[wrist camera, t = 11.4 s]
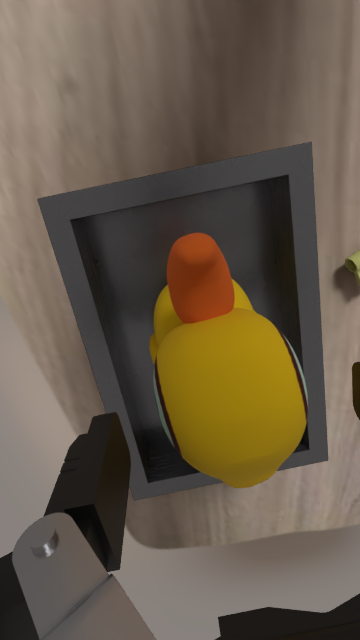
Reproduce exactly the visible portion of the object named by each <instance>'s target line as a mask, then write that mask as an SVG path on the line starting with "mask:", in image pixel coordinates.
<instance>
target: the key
mask: <svg viewBox="0 0 360 640" xmlns="http://www.w3.org/2000/svg"><path fill="white" fill-rule="evenodd" d="M345 264H346V266H347V268H348V269H349V270H350V271H351V272H353V273H354V274H355V277H356V279H357V282H358V284H359V287H360V250H359V251H357V252H356V253H354V254H353V255H351V256H349V257H348V258H346V259H345Z"/></svg>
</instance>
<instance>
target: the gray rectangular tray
mask: <svg viewBox="0 0 360 640" xmlns="http://www.w3.org/2000/svg"><path fill="white" fill-rule="evenodd" d="M37 200H38V203H39V206H40V209H41V213H42V216H43V219H44V222H45V225H46V228H47V231H48V234H49V237H50V240H51V244H52V247H53V250H54V253H55V256H56V259H57V262H58V265H59V268H60V271H61V275H62V278H63V281H64V284H65V287H66V290H67V293H68V296H69V299H70V303H71V306H72V309H73V312H74V315H75V318H76V321H77V324H78V327H79V330H80V334H81V337H82V340H83V343H84V346H85V349H86V352H87V355H88V358H89V361H90V365H91V368H92V371H93V374H94V377H95V380H96V383H97V386H98V389H99V393H100V396H101V399H102V402H103V405H104V408H105V411H106V414H108V413H112V412H116V413H117V414H118V416H119V419H120V422H121V425H122V428H123V431H124V435H125V438H126V441H127V444H128V447H129V451H130V457H131V471H130V481H129V486H130V489H131V492H132V495H133V498H134V501H135V500H139V499H144V498H149V497H154V496H159V495H164V494H168V493H173V492H178V491H183V490H188V489H193V488H197V487H202V486H207V485H212V484H217V483H222V482H223V481H222V480H220V479H217V478H214V477H212V476H209V475H207V474H204V473H202V472H200V471H199V470H197V469H195V468H194V467H193V466H191V465H190V464H189V463H188V462H187V461H185V460H184V459H183V458H182V456H181V455H180V454H179V453H178V452H177V450H176V449H175V448H174V446H173V445H172V443H171V441H170V440H169V438H168V436H167V434H166V432H165V430H164V427H163V425H162V422H161V419H160V416H159V413H158V409H157V405H156V400H155V394H154V382H153V375H154V363H153V361H152V358H151V354H150V348H149V341H150V337H151V336H152V334H154V333H155V331H154V310H155V305H156V302H157V299H158V297H159V295H160V293H161V291H162V290H163V289H164V288H165V287H166V286H167V285H168V282H167V264H168V258H169V254H170V252H171V248H172V246H173V244H174V243H175V242H176V241H177V240H178V239H179V238H181V237H183V236H185V235H188V234H192V233H204V234H207V235H209V236H210V237H212V238H213V240H214V241H215V242H216V244H217V245H218V247H219V249H220V250H221V252H222V254H223V256H224V258H225V260H226V262H227V265H228V268H229V271H230V275H231V278H232V279H233V280H234V281H235V282H236V283H237V284H238V285H239V286H240V287H241V288H242V289H243V291H244V292H245V294H246V295H247V297H248V299H249V301H250V303H251V305H252V308H253V310H254V311H255V312H256V313H258V314H260V315H262V316H263V317H265V318H266V319H268V320H269V321H270V322H272V323H273V324H274V325H275V326H276V327H277V328H278V329H279V330H280V331H281V332H282V334H283V335H284V336H285V338H286V339H287V340H288V342H289V343H290V345H291V347H292V348H293V350H294V352H295V354H296V356H297V358H298V361H299V363H300V366H301V369H302V372H303V375H304V379H305V383H306V388H307V395H308V416H307V422H306V427H305V430H304V433H303V436H302V438H301V441H300V442H299V444H298V446H297V447H296V449H295V450H294V452H293V453H292V454H291V455H290V456H289V457H288V458H287V459H286V460H285V461H284V462H283V463H282V464H281V466H280V467H279V468H278V470H277V471H280V470H285V469H289V468H294V467H299V466H304V465H309V464H314V463H318V462H323V461H328V445H327V425H326V406H325V387H324V368H323V349H322V330H321V311H320V292H319V273H318V253H317V234H316V215H315V196H314V177H313V158H312V142H308V143H303V144H298V145H293V146H289V147H284V148H279V149H274V150H269V151H265V152H260V153H255V154H250V155H245V156H241V157H236V158H231V159H226V160H221V161H216V162H212V163H207V164H202V165H197V166H192V167H188V168H183V169H178V170H173V171H168V172H164V173H159V174H154V175H149V176H144V177H140V178H135V179H130V180H125V181H120V182H115V183H111V184H106V185H101V186H96V187H91V188H87V189H82V190H77V191H72V192H67V193H63V194H58V195H53V196H48V197H43V198H38V199H37Z"/></svg>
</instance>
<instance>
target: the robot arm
mask: <svg viewBox="0 0 360 640" xmlns="http://www.w3.org/2000/svg"><path fill="white" fill-rule="evenodd" d="M352 387H353V406H354V410H355V412H356V414H357V416H358V418H359V420H360V362H356V363H354V364H353V367H352ZM64 461H65V463H63V466H62V468H61V471H60V472H61V473H60V474H59V477H58V479H57V482H56V484H55V487H54V490H53V492H52V495H51V498H50V500H49V503H48V506H47V508H46V512H45V514H44V517H43V518H40V519H39V520H37V521H36V522H34V523H33V524H32V525H31V526H30V527H28V528H27V530H25V532H24V533H23V534H22V535H21V537H20V538H19V540H18V541H17V543H16V545H15V548H14V550H13V552H11V553H9V554H7V555H5V556H3V557H1V558H0V640H156V638H155V637H154V635H153V634H152V632H151V631H150V629H149V628H148V626H147V624H146V623H145V622H144V620H143V618H142V617H141V615H140V614H139V612H138V611H137V609H136V608H135V606H134V605H133V603H132V602H131V600H130V599H129V597H128V596H127V594H126V593H125V591H124V590H123V588H122V587H121V585H120V584H119V582H118V581H117V579H115V577H114V576H113V575H112V574H110V575H109V574H108V573H107V572H110V571H115V570H119V569H120V563H121V554H122V545H123V536H124V527H125V517H126V508H127V499H128V490H129V481H130V471H131V457H130V451H129V447H128V444H127V441H126V438H125V435H124V431H123V428H122V425H121V422H120V419H119V416H118V414H117V413H116V412H112V413H108V414H103V415H98V416H94V417H93V418H92V421H91V424H90V428H89V431H88V433H87V434H82V435H79V436H78V438H77V439H76V440H75V441H74V442H73V444H72V445H71V446H70V447H69V450H68V452H67V455H66V458H65V460H64ZM218 620H219V627H220V634H221V636H220V637H219V638H217V639H215V640H360V594H358V595H356V596H355V597H353V598H351V599H350V600H348V601H347V602H345V603H343V604H341V605H340V606H338V607H336V608H335V609H333V610H331V611H329V612H326V613H319V612H309V611H300V610H291V609H281V608H272V607H266V608H261V609H256V610H251V611H246V612H241V613H236V614H231V615H226V616H221V617H218Z"/></svg>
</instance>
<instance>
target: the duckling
mask: <svg viewBox="0 0 360 640" xmlns="http://www.w3.org/2000/svg"><path fill="white" fill-rule="evenodd" d="M167 282H168V285H167V286H166V287H165V288H164V289H163V290H162V291H161V293H160V295H159V297H158V299H157V302H156V305H155V310H154V331H155V333H154V334H152V336H151V337H150V341H149V348H150V354H151V358H152V361H153V363H154V375H153V382H154V394H155V400H156V405H157V409H158V413H159V416H160V419H161V422H162V425H163V427H164V430H165V432H166V434H167V436H168V438H169V440H170V441H171V443H172V445H173V446H174V448H175V449H176V450H177V452H178V453H179V454H180V455H181V456H182V458H183V459H184V460H185V461H187V462H188V463H189V464H190V465H191V466H193V467H194V468H195V469H197V470H199V471H200V472H202V473H204V474H207V475H209V476H212V477H214V478H217V479H220V480H222V481H223V482H224V483H226V484H227V485H229V486H231V487H235V488H246V487H251V486H254V485H256V484H258V483H261V482H263V481H265V480H267V479H268V478H270V477H271V476H272V475H273V474H274V473H275V472H276V471H277V470H278V468H279V467H280V466H281V464H282V463H283V462H284V461H285V460H286V459H287V458H288V457H289V456H290V455H291V454H292V453H293V452H294V450H295V449H296V447H297V446H298V444H299V442H300V441H301V438H302V436H303V433H304V430H305V427H306V422H307V416H308V395H307V388H306V383H305V379H304V375H303V372H302V369H301V366H300V363H299V361H298V358H297V356H296V354H295V352H294V350H293V348H292V347H291V345H290V343H289V342H288V340H287V339H286V338H285V336H284V335H283V334H282V332H281V331H280V330H279V329H278V328H277V327H276V326H275V325H274V324H273V323H272V322H270V321H269V320H268V319H266V318H265V317H263V316H262V315H260V314H258V313H256V312H255V311H254V310H253V308H252V305H251V303H250V301H249V299H248V297H247V295H246V294H245V292H244V291H243V289H242V288H241V287H240V286H239V285H238V284H237V283H236V282H235V281H234V280H233V279H232V278H231V275H230V271H229V268H228V265H227V262H226V260H225V258H224V256H223V254H222V252H221V250H220V249H219V247H218V245H217V244H216V242H215V241H214V240H213V238H212V237H210V236H209V235H207V234H204V233H192V234H188V235H185V236H183V237H181V238H179V239H178V240H177V241H176V242H175V243H174V244H173V246H172V248H171V252H170V254H169V258H168V264H167Z"/></svg>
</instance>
